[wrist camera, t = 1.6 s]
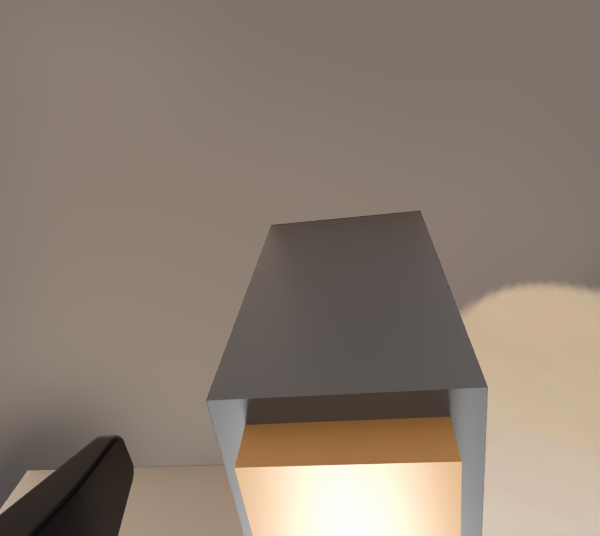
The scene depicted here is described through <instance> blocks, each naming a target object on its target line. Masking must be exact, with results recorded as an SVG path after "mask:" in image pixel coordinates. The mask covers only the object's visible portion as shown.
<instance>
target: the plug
mask: <svg viewBox="0 0 600 536" xmlns="http://www.w3.org/2000/svg"><path fill="white" fill-rule="evenodd" d="M487 395H488V387H487V384H486V381H485V379H484V376H483V373H482V371H481V368H480V366H479V363H478V360H477V358H476V355H475V353H474V350H473V347H472V345H471V342H470V339H469V337H468V334H467V332H466V329H465V326H464V324H463V321H462V319H461V316H460V313H459V311H458V308H457V306H456V303H455V300H454V298H453V295H452V293H451V290H450V287H449V285H448V282H447V280H446V277H445V274H444V272H443V269H442V267H441V264H440V261H439V258H438V256H437V253H436V251H435V248H434V246H433V243H432V240H431V238H430V235H429V232H428V230H427V227H426V225H425V222H424V220H423V217H422V214H421V211H412V212H402V213H392V214H381V215H371V216H360V217H350V218H340V219H330V220H319V221H309V222H298V223H288V224H277V225H271V227H270V230H269V233H268V236H267V238H266V241H265V244H264V246H263V249H262V252H261V254H260V257H259V260H258V262H257V265H256V268H255V271H254V273H253V276H252V279H251V282H250V284H249V287H248V289H247V292H246V295H245V297H244V300H243V303H242V306H241V308H240V311H239V314H238V316H237V319H236V322H235V324H234V327H233V330H232V332H231V335H230V338H229V341H228V343H227V346H226V349H225V352H224V354H223V357H222V359H221V362H220V365H219V367H218V370H217V373H216V376H215V378H214V381H213V384H212V386H211V389H210V392H209V394H208V397H207V400H206V402H207V405H208V409H209V413H210V416H211V420H212V423H213V427H214V430H215V434H216V437H217V441H218V444H219V448H220V452H221V455H222V459H223V462H224V466H225V469H226V473H227V477H228V480H229V484H230V487H231V491H232V494H233V498H234V501H235V505H236V508H237V512H238V516H239V519H240V523H241V526H242V530H243V533H244V536H482V519H483V495H484V470H485V445H486V420H487Z"/></svg>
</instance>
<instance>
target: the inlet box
mask: <svg viewBox="0 0 600 536" xmlns="http://www.w3.org/2000/svg"><path fill="white" fill-rule="evenodd" d="M54 471H55V470H28V471H27V472H26V474H25V475H24V477H23V478H22V480H21V481H20V482H19V484H18V485H17V487H16V488H15V490H14V491H13V492H12V494H11V495H10V497H9V498H8V499H7V501H6V502H5V503H4V505H3V506H2V508H1V509H0V514H1V513H2V512H4V511H5V510H6V509H8V508H9V507H10V506H11V505H13V504H14V503H15V502H16V501H18V500H19V499H20V498H21V497H23V496H24V495H25V494H26V493H28V492H29V491H30V490H31V489H33V488H34V487H35V486H36V485H38V484H39V483H40V482H41V481H43V480H44V479H45V478H46V477H48V476H49V475H50V474H51V473H53V472H54ZM118 536H244V533H243V530H242V526H241V523H240V519H239V516H238V512H237V508H236V505H235V501H234V498H233V494H232V491H231V487H230V484H229V480H228V477H227V473H226V469H225V466H224V465H199V466H198V465H196V466H164V467H134V477H133V481H132V485H131V489H130V493H129V496H128V500H127V504H126V508H125V512H124V515H123V519H122V523H121V527H120V531H119V534H118Z"/></svg>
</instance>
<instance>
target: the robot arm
mask: <svg viewBox="0 0 600 536" xmlns="http://www.w3.org/2000/svg"><path fill="white" fill-rule="evenodd" d="M133 477H134V467H133V463H132V461H131V458H130V456H129V453H128V451H127V448H126V446H125V443H124V441H123V439H122V438H121V437H120V436H117V435H109V436H99V437H97V438H96V439H94V440H93V441H92V442H90V443H89V444H88V445H87V446H85V447H84V448H83V449H82V450H80V451H79V452H78V453H77V454H75V455H74V456H73V457H72V458H70V459H69V460H68V461H67V462H65V463H64V464H63V465H62V466H60V467H59V468H58V469H57V470H55V471H54V472H53V473H51V474H50V475H49V476H48V477H46V478H45V479H44V480H43V481H41V482H40V483H39V484H38V485H36V486H35V487H34V488H33V489H31V490H30V491H29V492H28V493H26V494H25V495H24V496H23V497H21V498H20V499H19V500H18V501H16V502H15V503H14V504H13V505H11V506H10V507H9V508H8V509H6V510H5V511H4V512H2V513H1V514H0V536H118V534H119V531H120V527H121V523H122V519H123V515H124V512H125V508H126V504H127V500H128V496H129V493H130V489H131V485H132V481H133Z"/></svg>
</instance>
